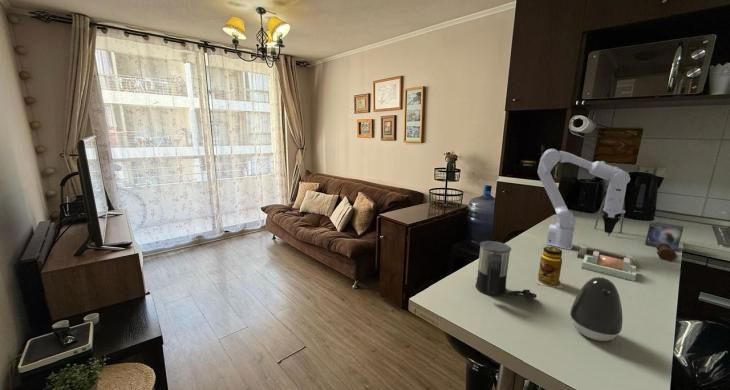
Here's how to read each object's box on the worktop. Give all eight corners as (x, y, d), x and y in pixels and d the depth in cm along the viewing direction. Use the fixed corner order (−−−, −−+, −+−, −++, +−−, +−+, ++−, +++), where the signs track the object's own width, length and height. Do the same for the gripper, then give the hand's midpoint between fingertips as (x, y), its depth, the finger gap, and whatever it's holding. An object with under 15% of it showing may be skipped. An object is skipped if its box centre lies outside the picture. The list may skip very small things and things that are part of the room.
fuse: (590, 267, 111) (592, 254, 110) (591, 262, 115) (594, 250, 114) (627, 276, 105) (629, 263, 104) (627, 271, 108) (629, 258, 107)
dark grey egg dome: (574, 341, 72) (585, 284, 68) (563, 317, 81) (572, 266, 78) (626, 353, 68) (640, 293, 65) (608, 326, 78) (620, 273, 74)
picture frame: (644, 245, 136) (649, 223, 134) (646, 241, 140) (651, 220, 138) (677, 252, 128) (682, 229, 126) (678, 248, 132) (683, 226, 130)
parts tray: (581, 268, 111) (582, 262, 111) (584, 260, 118) (585, 255, 117) (634, 281, 102) (636, 275, 101) (634, 272, 108) (635, 266, 108)
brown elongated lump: (663, 254, 130) (667, 264, 119) (650, 246, 133) (654, 255, 121) (674, 245, 128) (681, 254, 116) (662, 237, 130) (666, 245, 118)
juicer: (594, 228, 158) (604, 173, 152) (621, 232, 152) (633, 175, 146) (594, 233, 151) (605, 175, 144) (623, 238, 144) (636, 177, 138)
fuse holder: (577, 257, 121) (578, 249, 120) (580, 249, 129) (581, 242, 128) (632, 270, 110) (634, 261, 109) (632, 261, 118) (634, 252, 117)
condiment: (537, 284, 99) (542, 250, 96) (533, 273, 107) (538, 242, 104) (563, 289, 96) (569, 254, 94) (557, 277, 104) (562, 245, 101)
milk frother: (471, 281, 100) (475, 239, 97) (518, 282, 100) (524, 241, 97) (486, 305, 87) (491, 257, 83) (541, 307, 86) (548, 259, 83)
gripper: (627, 203, 113) (620, 237, 116) (627, 197, 124) (621, 228, 127) (604, 200, 118) (598, 233, 121) (606, 195, 129) (600, 225, 131)
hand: (608, 230), depth 124 cm, fingers open, 7 cm apart
